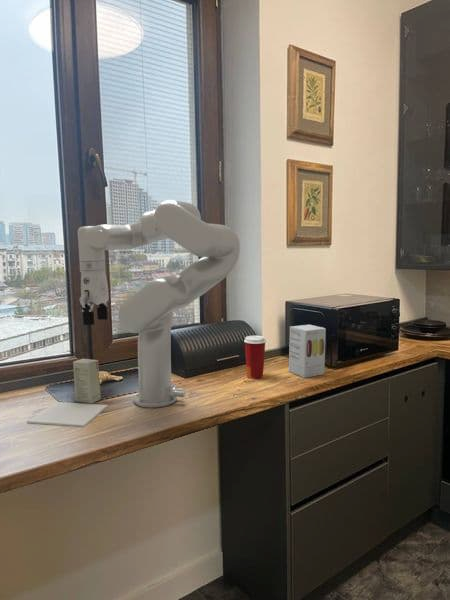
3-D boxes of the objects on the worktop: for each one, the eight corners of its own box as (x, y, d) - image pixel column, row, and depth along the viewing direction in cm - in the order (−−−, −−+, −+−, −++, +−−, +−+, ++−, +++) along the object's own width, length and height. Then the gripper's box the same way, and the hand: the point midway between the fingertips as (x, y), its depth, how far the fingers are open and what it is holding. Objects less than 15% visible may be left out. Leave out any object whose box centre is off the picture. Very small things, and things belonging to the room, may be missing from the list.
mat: (107, 406, 125) (107, 405, 125) (84, 426, 111) (84, 425, 111) (55, 403, 127) (55, 402, 127) (26, 422, 114) (26, 421, 114)
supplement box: (304, 378, 150) (305, 330, 148) (287, 371, 159) (288, 326, 156) (325, 374, 155) (326, 327, 153) (308, 368, 163) (309, 323, 161)
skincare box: (101, 399, 131) (99, 360, 129) (91, 404, 127) (89, 363, 125) (84, 396, 133) (83, 357, 132) (74, 401, 129) (72, 361, 128)
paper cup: (269, 375, 154) (270, 336, 152) (259, 381, 148) (259, 340, 146) (250, 372, 158) (250, 334, 156) (239, 377, 152) (239, 338, 150)
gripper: (91, 268, 125) (95, 327, 127) (115, 265, 142) (118, 317, 144) (67, 268, 126) (71, 327, 128) (93, 266, 143) (96, 317, 145)
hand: (96, 321), depth 136 cm, fingers open, 9 cm apart
